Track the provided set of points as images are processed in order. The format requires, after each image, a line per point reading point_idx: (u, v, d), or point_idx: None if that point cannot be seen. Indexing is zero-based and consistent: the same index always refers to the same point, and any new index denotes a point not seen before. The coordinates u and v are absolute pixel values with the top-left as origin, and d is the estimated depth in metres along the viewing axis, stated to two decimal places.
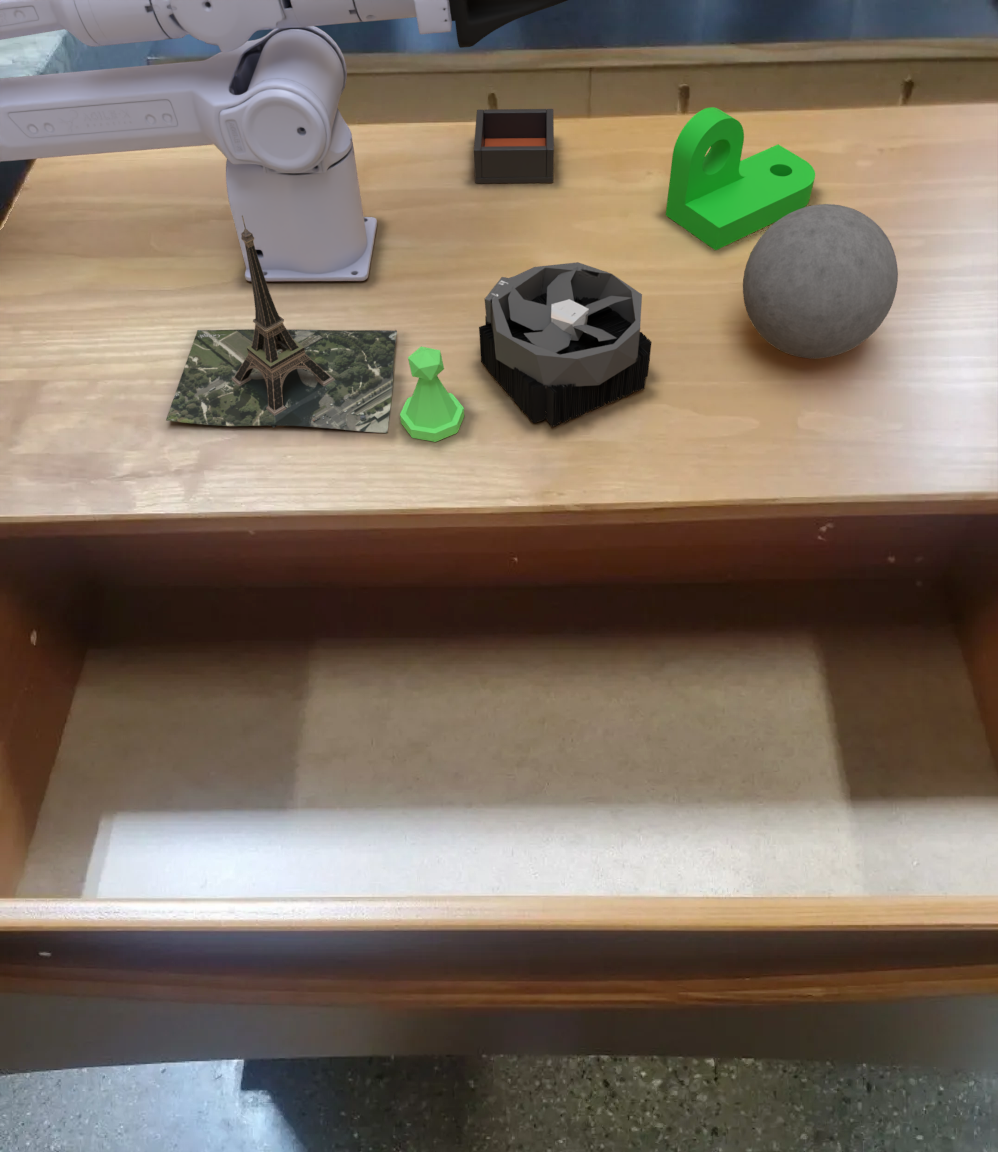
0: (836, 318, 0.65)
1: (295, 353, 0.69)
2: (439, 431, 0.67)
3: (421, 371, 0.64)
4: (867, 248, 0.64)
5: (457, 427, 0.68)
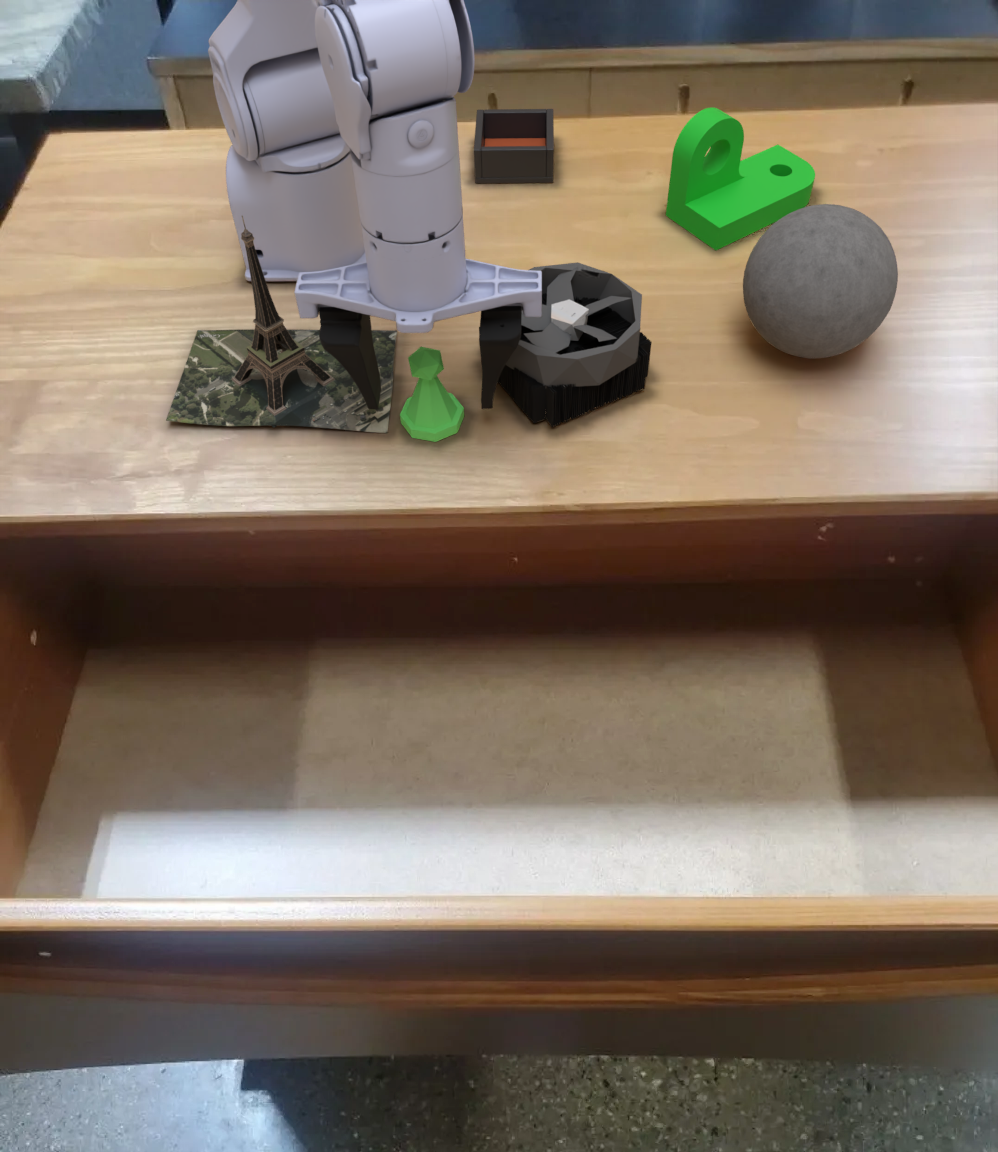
0: (836, 318, 0.65)
1: (295, 353, 0.69)
2: (439, 431, 0.67)
3: (421, 371, 0.64)
4: (867, 248, 0.64)
5: (457, 427, 0.68)
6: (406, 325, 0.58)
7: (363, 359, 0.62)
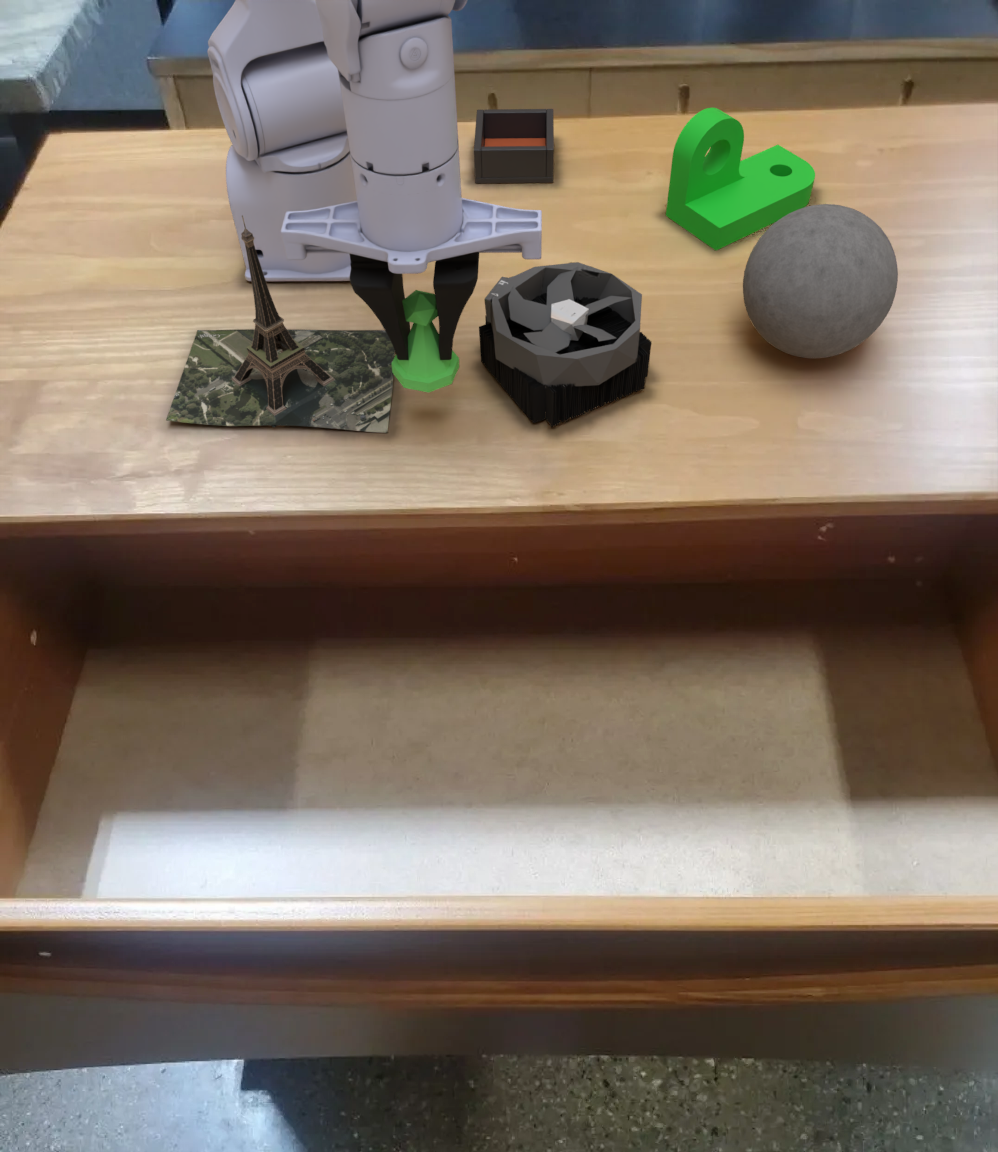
0: (836, 318, 0.65)
1: (295, 353, 0.69)
2: (433, 381, 0.64)
3: (416, 315, 0.61)
4: (867, 248, 0.64)
5: (452, 377, 0.65)
6: (398, 265, 0.55)
7: (395, 304, 0.59)
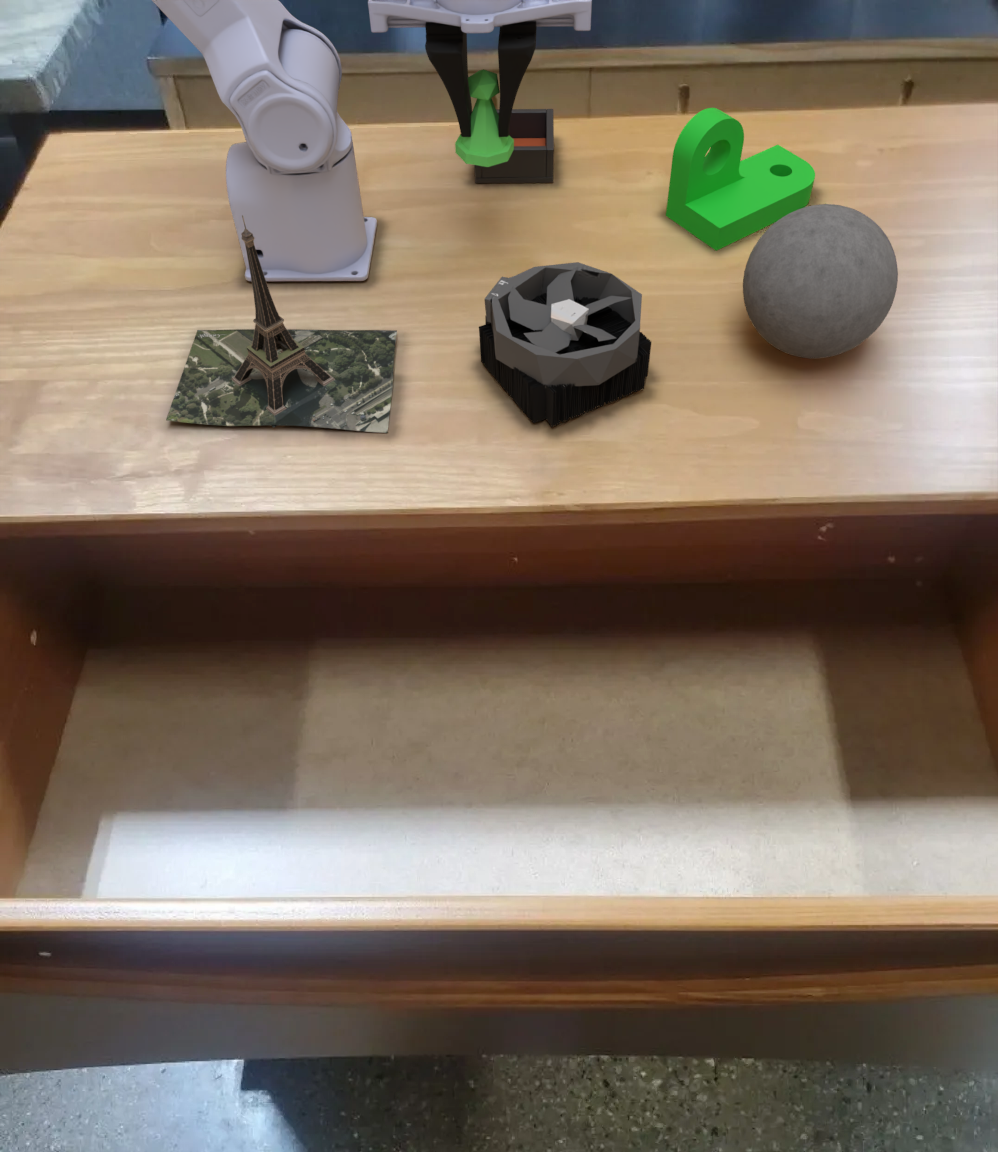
0: (836, 318, 0.65)
1: (295, 353, 0.69)
2: (492, 156, 0.73)
3: (479, 89, 0.70)
4: (867, 248, 0.64)
5: (508, 155, 0.74)
6: (470, 24, 0.64)
7: (463, 74, 0.69)
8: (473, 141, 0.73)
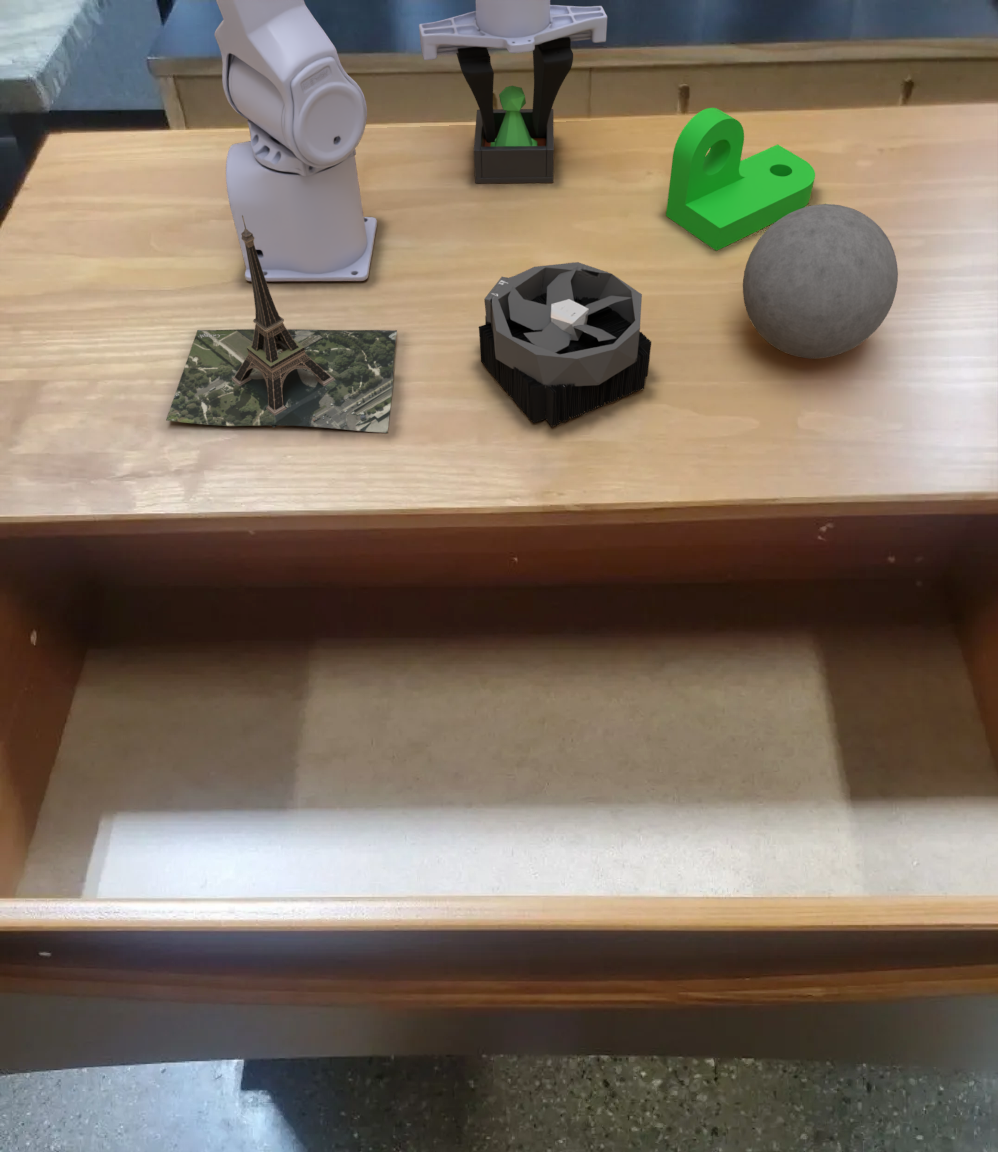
0: (836, 318, 0.65)
1: (295, 353, 0.69)
2: None
3: (512, 103, 0.83)
4: (867, 248, 0.64)
5: None
6: (517, 45, 0.77)
7: (492, 89, 0.81)
8: None
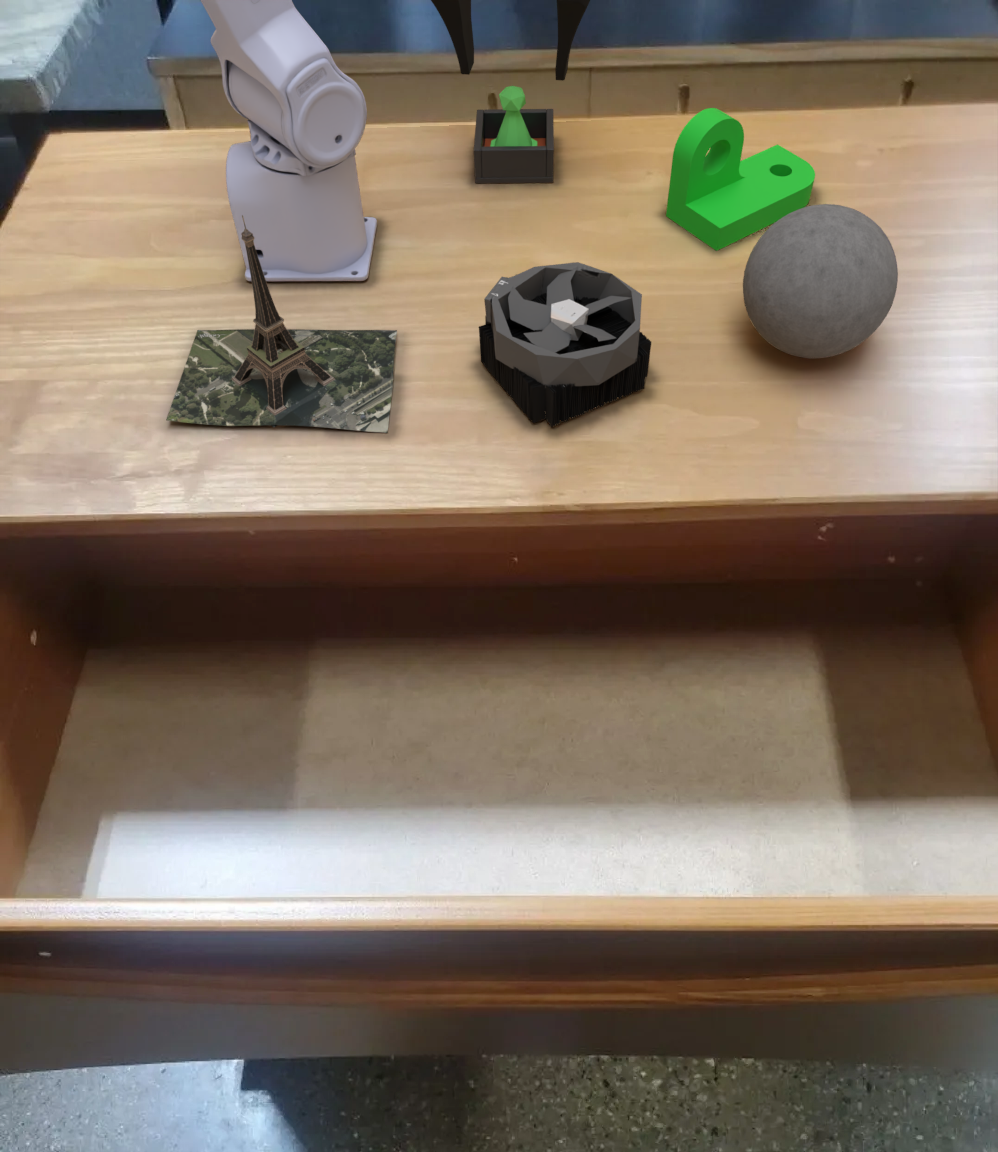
0: (836, 318, 0.65)
1: (295, 353, 0.69)
2: None
3: (512, 103, 0.83)
4: (867, 248, 0.64)
5: None
6: None
7: None
8: None
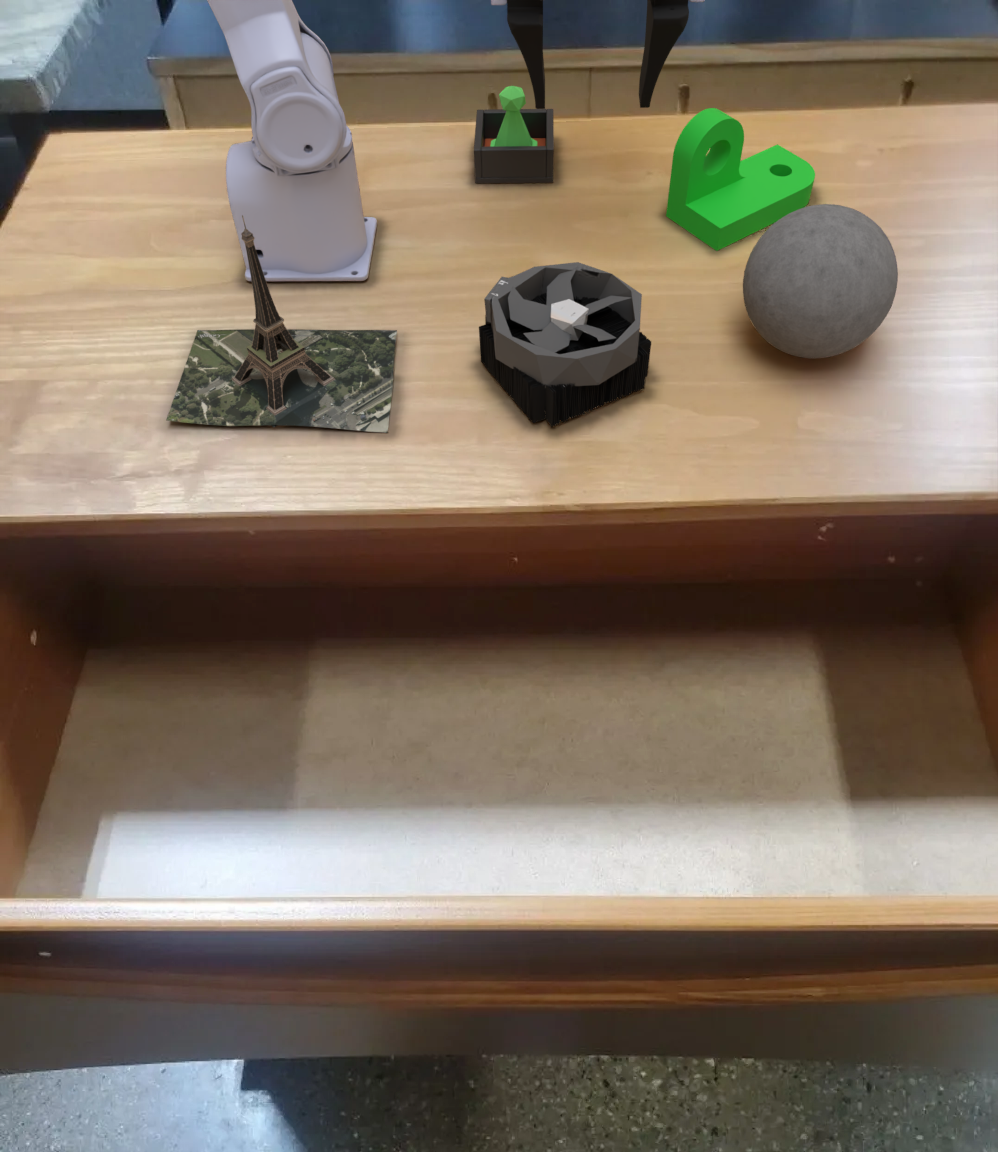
0: (836, 318, 0.65)
1: (295, 353, 0.69)
2: None
3: (512, 103, 0.83)
4: (867, 248, 0.64)
5: None
6: None
7: (646, 20, 0.73)
8: None
